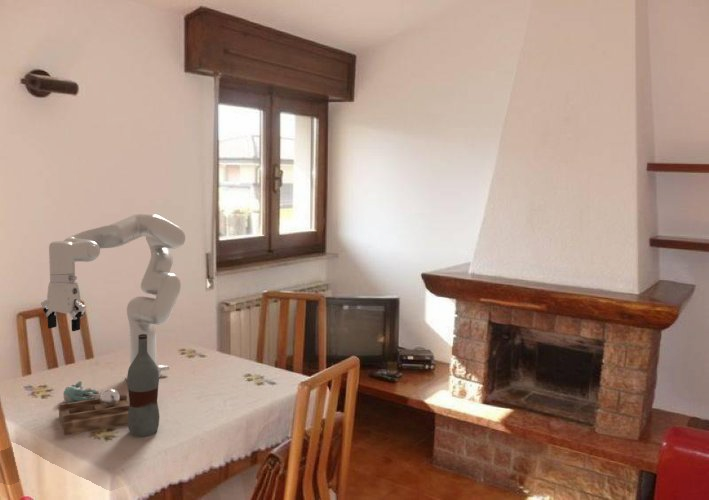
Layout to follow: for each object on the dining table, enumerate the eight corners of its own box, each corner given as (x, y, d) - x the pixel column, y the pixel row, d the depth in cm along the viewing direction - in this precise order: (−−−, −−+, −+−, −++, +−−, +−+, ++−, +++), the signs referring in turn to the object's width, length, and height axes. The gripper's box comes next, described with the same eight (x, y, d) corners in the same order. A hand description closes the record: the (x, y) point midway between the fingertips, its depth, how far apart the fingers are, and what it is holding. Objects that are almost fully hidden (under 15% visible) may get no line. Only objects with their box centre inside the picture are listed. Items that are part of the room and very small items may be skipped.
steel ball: (118, 402, 194) (117, 384, 194) (121, 408, 189) (121, 390, 188) (98, 405, 191) (98, 387, 190) (101, 411, 186) (101, 393, 185)
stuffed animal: (107, 383, 207) (75, 385, 197) (104, 403, 207) (71, 407, 197) (90, 376, 213) (58, 378, 203) (87, 396, 213) (54, 399, 203)
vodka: (160, 435, 178) (159, 337, 175) (127, 439, 175) (126, 339, 171) (158, 423, 187) (158, 330, 183) (127, 427, 183) (126, 332, 180)
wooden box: (124, 406, 200) (124, 391, 200) (134, 422, 187) (134, 407, 186) (59, 416, 190) (58, 401, 189) (64, 435, 176) (64, 419, 176)
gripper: (92, 278, 198) (93, 328, 199) (50, 275, 202) (51, 324, 204) (75, 282, 190) (77, 334, 192) (32, 278, 195) (34, 329, 197)
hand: (64, 329), depth 198 cm, fingers open, 9 cm apart
